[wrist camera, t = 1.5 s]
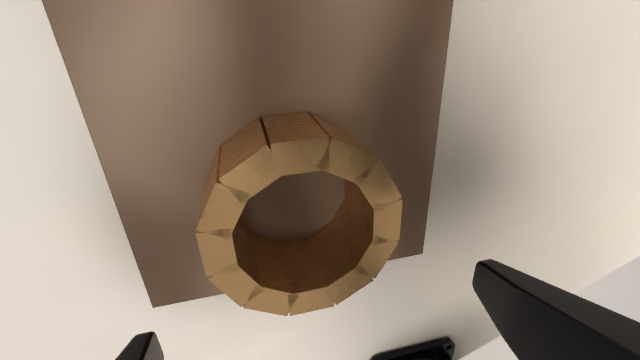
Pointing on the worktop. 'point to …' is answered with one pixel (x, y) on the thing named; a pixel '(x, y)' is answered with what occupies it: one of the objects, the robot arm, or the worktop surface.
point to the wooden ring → (306, 252)
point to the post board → (248, 109)
